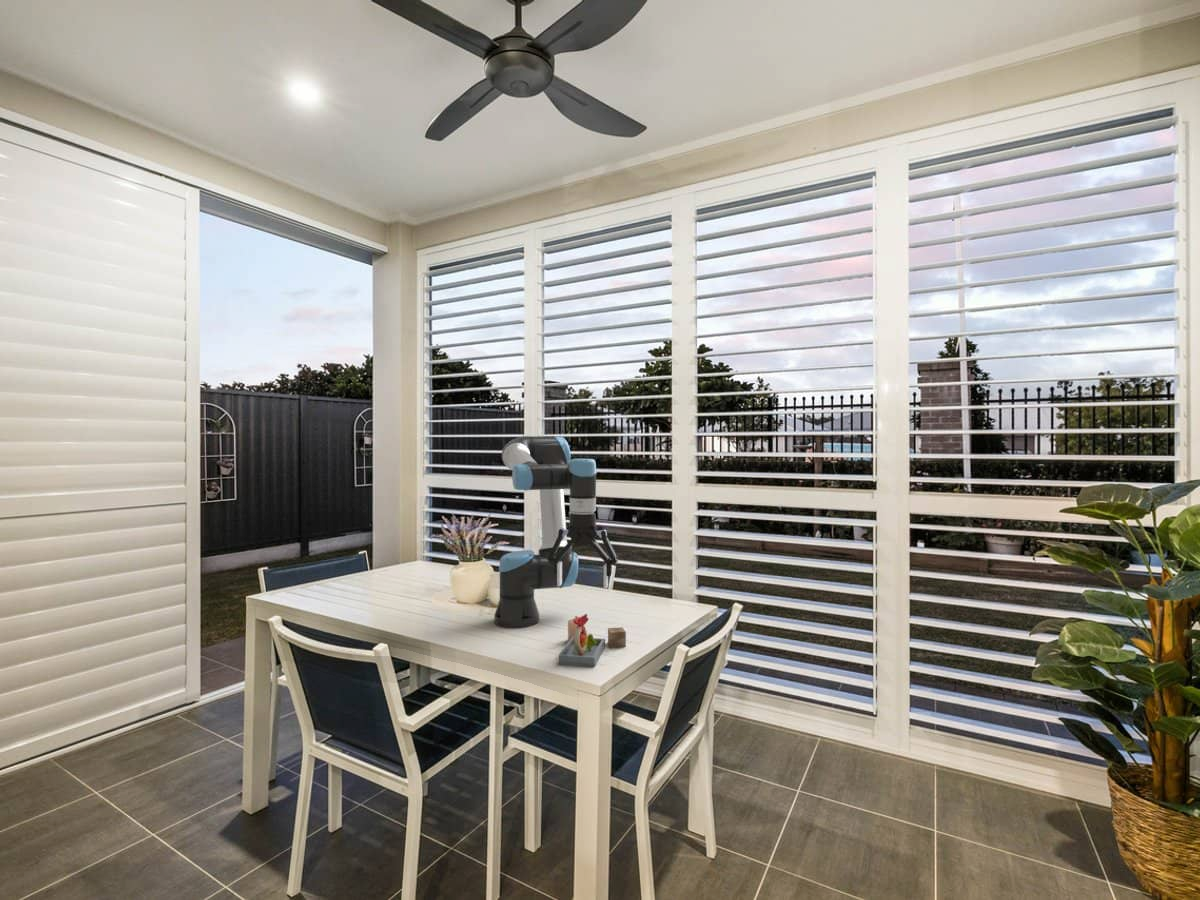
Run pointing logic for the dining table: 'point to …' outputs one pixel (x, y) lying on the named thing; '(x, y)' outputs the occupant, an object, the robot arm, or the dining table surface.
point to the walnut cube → (616, 637)
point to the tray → (587, 659)
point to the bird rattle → (582, 636)
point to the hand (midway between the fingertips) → (582, 586)
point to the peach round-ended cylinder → (571, 629)
